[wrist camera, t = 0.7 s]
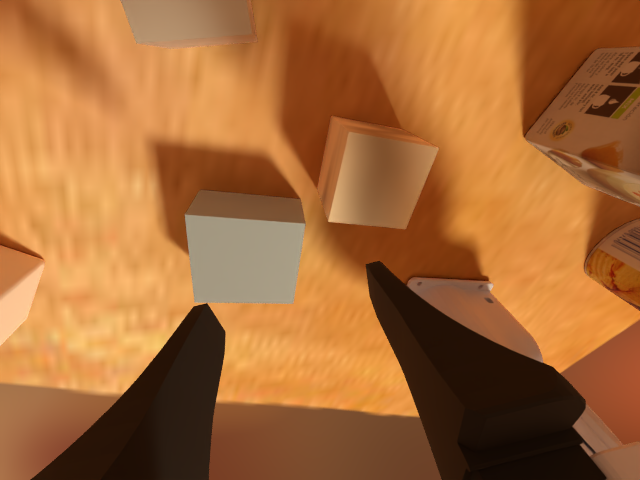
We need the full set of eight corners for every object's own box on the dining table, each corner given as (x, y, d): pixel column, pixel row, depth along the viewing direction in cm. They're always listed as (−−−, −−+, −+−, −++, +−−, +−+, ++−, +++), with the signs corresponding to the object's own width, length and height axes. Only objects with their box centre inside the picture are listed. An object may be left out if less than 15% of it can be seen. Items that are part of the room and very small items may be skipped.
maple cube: (401, 128, 18) (439, 147, 14) (379, 196, 21) (405, 229, 17) (330, 115, 17) (349, 131, 13) (316, 188, 20) (328, 221, 16)
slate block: (300, 197, 20) (305, 223, 17) (290, 270, 24) (293, 303, 20) (200, 188, 19) (184, 214, 15) (206, 267, 22) (194, 302, 19)
